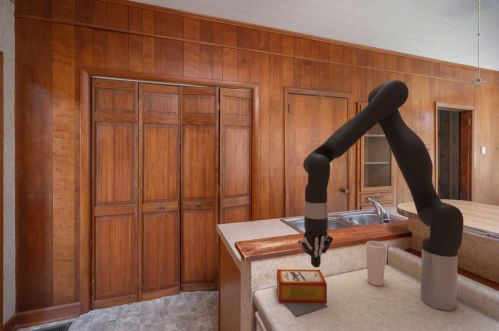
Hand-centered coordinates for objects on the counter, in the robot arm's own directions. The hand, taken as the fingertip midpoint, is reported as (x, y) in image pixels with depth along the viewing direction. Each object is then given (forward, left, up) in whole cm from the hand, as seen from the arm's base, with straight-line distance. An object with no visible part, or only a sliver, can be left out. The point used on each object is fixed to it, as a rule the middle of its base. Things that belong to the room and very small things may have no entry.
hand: (315, 266), depth 82 cm
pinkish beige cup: (-28, 0, -12) cm, 31 cm away
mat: (+4, -1, -12) cm, 13 cm away
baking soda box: (-5, -1, -8) cm, 10 cm away
